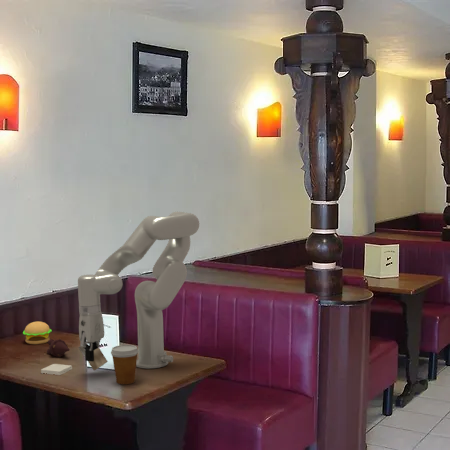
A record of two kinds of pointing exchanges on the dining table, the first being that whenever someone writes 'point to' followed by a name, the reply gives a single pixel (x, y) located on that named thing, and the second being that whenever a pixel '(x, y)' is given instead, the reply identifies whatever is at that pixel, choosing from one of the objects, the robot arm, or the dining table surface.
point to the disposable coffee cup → (125, 363)
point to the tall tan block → (95, 358)
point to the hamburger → (37, 333)
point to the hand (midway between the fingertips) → (92, 359)
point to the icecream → (57, 347)
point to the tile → (56, 369)
